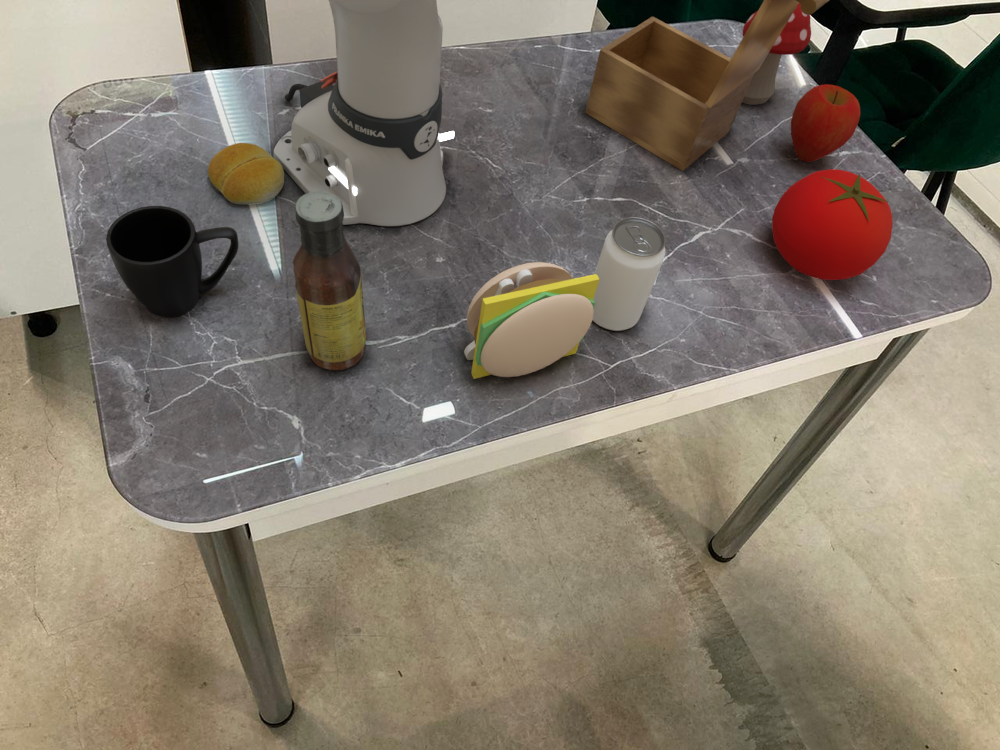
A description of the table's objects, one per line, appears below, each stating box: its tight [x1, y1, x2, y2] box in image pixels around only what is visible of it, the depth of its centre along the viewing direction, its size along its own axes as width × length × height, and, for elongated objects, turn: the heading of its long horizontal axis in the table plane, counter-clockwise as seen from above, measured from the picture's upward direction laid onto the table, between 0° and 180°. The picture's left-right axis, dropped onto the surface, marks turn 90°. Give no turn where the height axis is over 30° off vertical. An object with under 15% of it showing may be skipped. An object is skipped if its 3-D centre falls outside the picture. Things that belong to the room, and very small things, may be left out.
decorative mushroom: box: [741, 3, 812, 105], centre depth 115 cm, size 10×9×15 cm
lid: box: [706, 0, 830, 108], centre depth 95 cm, size 18×13×5 cm
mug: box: [105, 205, 239, 319], centre depth 82 cm, size 8×12×10 cm
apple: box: [790, 83, 861, 163], centre depth 109 cm, size 9×8×11 cm
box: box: [584, 16, 753, 172], centre depth 110 cm, size 17×13×10 cm
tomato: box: [771, 168, 894, 281], centre depth 96 cm, size 13×14×12 cm
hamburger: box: [463, 261, 600, 380], centre depth 82 cm, size 12×8×12 cm
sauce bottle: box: [292, 191, 367, 372], centre depth 76 cm, size 7×6×20 cm
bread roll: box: [207, 142, 285, 205], centre depth 95 cm, size 8×9×4 cm
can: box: [592, 216, 667, 332], centre depth 87 cm, size 6×6×12 cm
